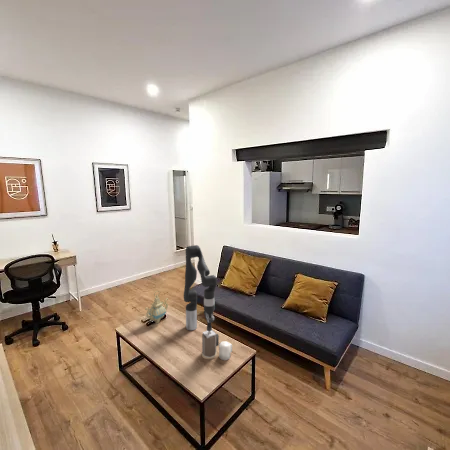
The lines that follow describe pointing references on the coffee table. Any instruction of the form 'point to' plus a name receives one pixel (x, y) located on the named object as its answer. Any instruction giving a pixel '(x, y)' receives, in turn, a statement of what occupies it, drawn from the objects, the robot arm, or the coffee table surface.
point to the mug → (225, 350)
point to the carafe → (209, 344)
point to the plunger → (209, 329)
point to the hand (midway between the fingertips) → (209, 326)
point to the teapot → (157, 309)
